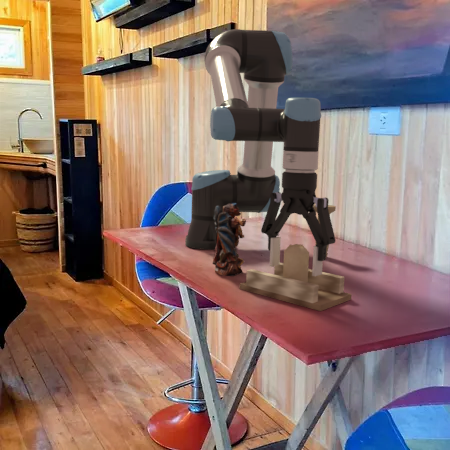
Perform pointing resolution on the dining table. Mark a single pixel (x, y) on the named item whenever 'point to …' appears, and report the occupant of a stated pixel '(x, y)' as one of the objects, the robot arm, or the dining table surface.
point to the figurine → (228, 240)
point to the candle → (296, 262)
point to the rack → (298, 288)
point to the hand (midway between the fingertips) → (295, 270)
